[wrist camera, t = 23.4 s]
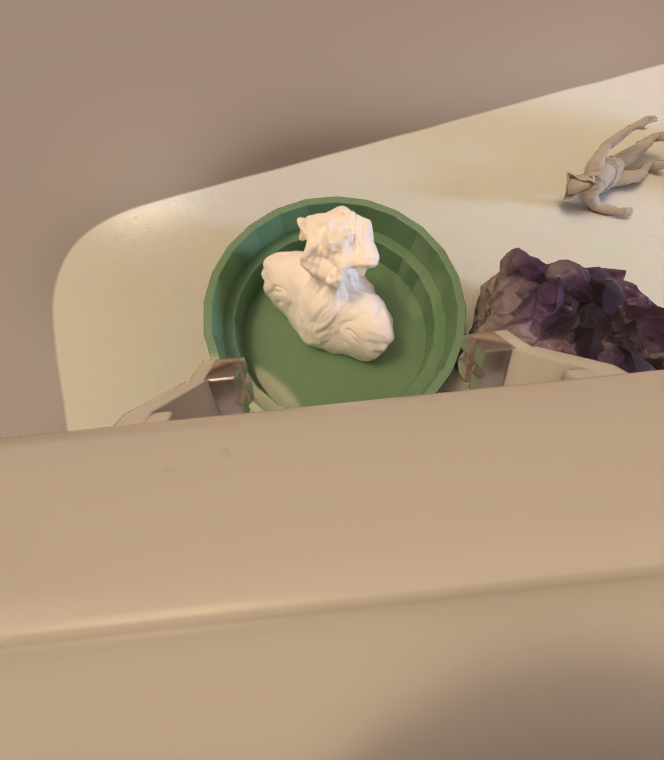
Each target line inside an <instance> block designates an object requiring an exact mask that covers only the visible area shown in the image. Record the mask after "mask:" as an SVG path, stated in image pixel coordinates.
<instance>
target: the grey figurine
mask: <svg viewBox="0 0 664 760" xmlns="http://www.w3.org/2000/svg"><path fill="white" fill-rule="evenodd" d="M653 119H657V117H656V116H646V117H644V118H642V119H640V120H639V121H637V122H635V123H633V124H631V125H628V126H627V127H626V128H624V129H622V130H621V131H619V132H618V133H616V134H615V135H613V136H612V137H611V138H609V139H608V140H607V141H605V142H604V143H602V144H601V146H600V147H599V149H598V150H597V151H596V152H595V154H594V155H593V156H592V158H591V159H590V160H589V162H588V163H587V165H586V168H585V171H584V174H583V175H575V174H572V173H570V172H568V173H567V184H566V193H565V197H564V200H570V199H572V198H573V197H574V196H576V195H578V194H581V197H582V200H583V201H584V203H585V204H587V206H589V208H590V209H591V210H593V211H596V212H599V213H603V214H610V215H613V214H615V215H618V216H630V215H632V213H633V212H632V211H634V210H629V209H633V207H632V208H617V207H615V206H612V205H609V204H606V203H604V202H602V201H600V199H599V194H600V193H603V192H605V191H607V190H609V189H610V188H611V187H617V186H624V185H627V184H631V183H638V182H640V181H641V180H643V179H645V178H646V176H647V173H648V171H649V169H651V170H661V169H664V160H660V161H645V162H644V163H643V164H642V166H641V167H640V168H639V169H638V170H630V171H629V170H627V171H623V170H624V167H625V166H626V165H627V164H629V163H630V162H631V161H632V160H634V159H635V158H637V157H639V156H640V155H642V154H643V153H644V152H645V151H646V150H647V149H648V148H649V147H651V145H652V144H653V142H656V141H664V132H658V133H654V134H651V135H650V136H648V137H646V138H644V139H643V140H641V141H637V142H636V143H635V144H634V145H633V146H631V147H629V148H627V149H625V150H623V151H621V152H620V153H618V154H616V155H614V156H609V157H607V158H606V156H607V154H608V151H609V150H610V149H611V148H613V147H614V146H615V145H617V144H618V143H619V142H620V141H622V140H623V139H624V138H625V137H626V136H628V135H629V134H630V133H631V132H632V131H634V130H636V129H640V130H644V129H647V128H644V127H645V126H646V125H647V124H649V123H651V122H655V121H657V120H653Z"/></svg>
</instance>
